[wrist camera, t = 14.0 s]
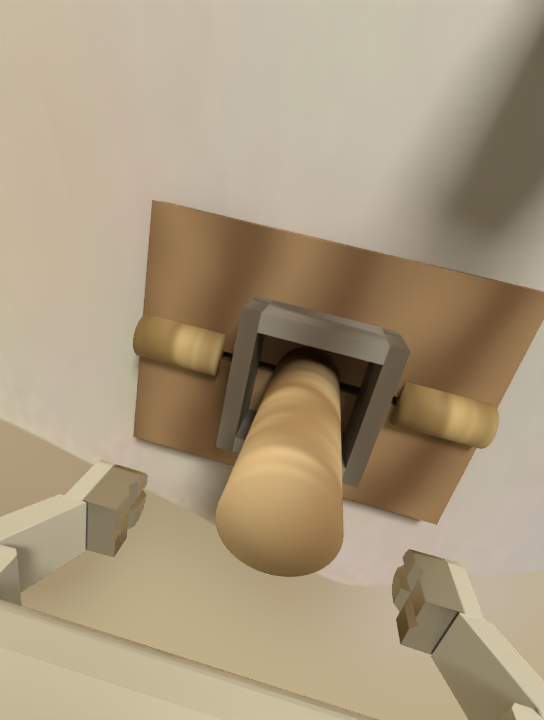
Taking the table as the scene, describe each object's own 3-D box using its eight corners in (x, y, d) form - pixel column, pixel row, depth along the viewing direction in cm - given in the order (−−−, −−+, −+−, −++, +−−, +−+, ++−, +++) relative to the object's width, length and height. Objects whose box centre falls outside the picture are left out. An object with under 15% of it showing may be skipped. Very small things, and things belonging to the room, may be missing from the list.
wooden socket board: (143, 425, 27) (104, 466, 23) (164, 201, 21) (117, 195, 17) (431, 508, 26) (452, 570, 21) (540, 290, 20) (602, 310, 15)
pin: (268, 397, 23) (207, 554, 12) (282, 339, 22) (226, 459, 11) (329, 413, 23) (323, 591, 12) (347, 356, 21) (360, 498, 10)
